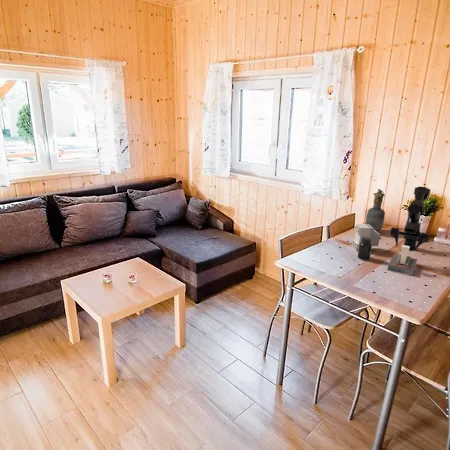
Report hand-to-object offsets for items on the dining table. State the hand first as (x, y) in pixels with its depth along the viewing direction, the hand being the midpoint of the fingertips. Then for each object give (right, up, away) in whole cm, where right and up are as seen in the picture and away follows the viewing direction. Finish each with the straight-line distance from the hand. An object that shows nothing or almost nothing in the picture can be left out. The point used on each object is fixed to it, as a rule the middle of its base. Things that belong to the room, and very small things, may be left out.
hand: (405, 248), depth 186 cm
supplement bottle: (-18, -7, +13) cm, 23 cm away
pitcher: (+7, +8, +58) cm, 59 cm away
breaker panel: (-1, -10, +2) cm, 11 cm away
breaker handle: (-2, -8, -1) cm, 8 cm away
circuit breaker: (-11, -3, +26) cm, 28 cm away
